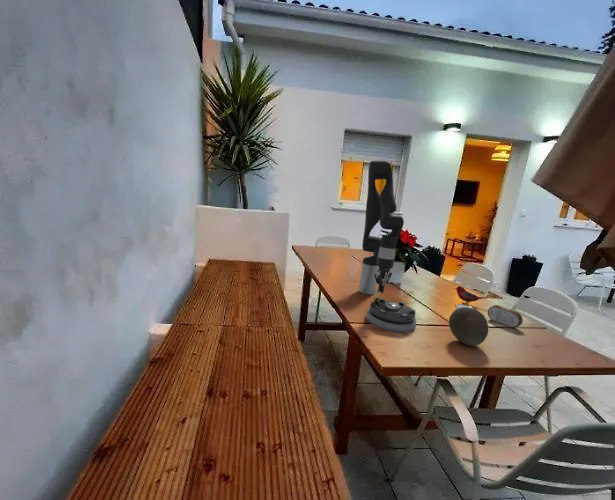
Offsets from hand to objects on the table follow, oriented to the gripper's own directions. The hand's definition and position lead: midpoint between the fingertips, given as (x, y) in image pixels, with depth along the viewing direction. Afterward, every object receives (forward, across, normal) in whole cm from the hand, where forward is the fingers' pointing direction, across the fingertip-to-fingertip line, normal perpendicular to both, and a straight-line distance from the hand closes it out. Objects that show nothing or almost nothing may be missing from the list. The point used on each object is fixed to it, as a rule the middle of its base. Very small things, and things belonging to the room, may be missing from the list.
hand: (380, 292), depth 147 cm
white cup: (+11, -20, +32) cm, 40 cm away
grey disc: (+8, +3, +9) cm, 12 cm away
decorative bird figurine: (+10, -61, +24) cm, 67 cm away
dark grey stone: (+11, -4, +38) cm, 40 cm away
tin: (+11, -45, +44) cm, 64 cm away
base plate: (+11, +3, +9) cm, 14 cm away
